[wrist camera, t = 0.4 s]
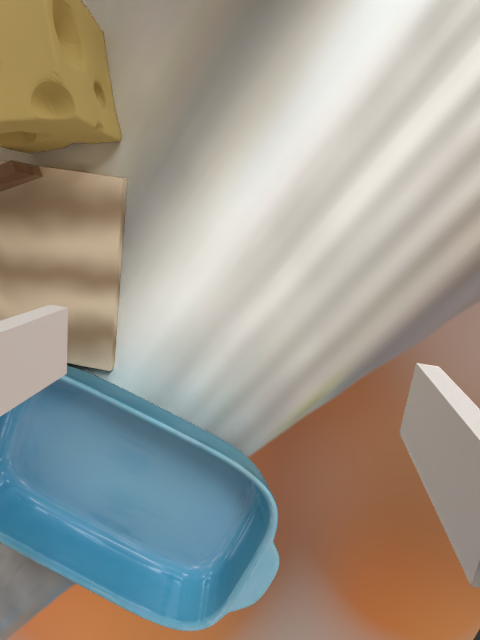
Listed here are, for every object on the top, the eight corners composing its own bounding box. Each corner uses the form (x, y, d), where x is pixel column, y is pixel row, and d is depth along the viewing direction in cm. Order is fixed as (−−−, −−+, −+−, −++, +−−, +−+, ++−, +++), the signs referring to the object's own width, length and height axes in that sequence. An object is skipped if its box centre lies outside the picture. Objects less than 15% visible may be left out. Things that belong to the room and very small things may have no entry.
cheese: (125, 142, 40) (70, 116, 30) (25, 158, 42) (-57, 138, 32) (106, 22, 38) (39, -48, 28) (2, 44, 39) (-95, -15, 30)
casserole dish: (319, 465, 45) (322, 509, 38) (232, 605, 51) (221, 665, 44) (22, 314, 46) (-28, 330, 39) (-29, 468, 52) (-80, 505, 45)
